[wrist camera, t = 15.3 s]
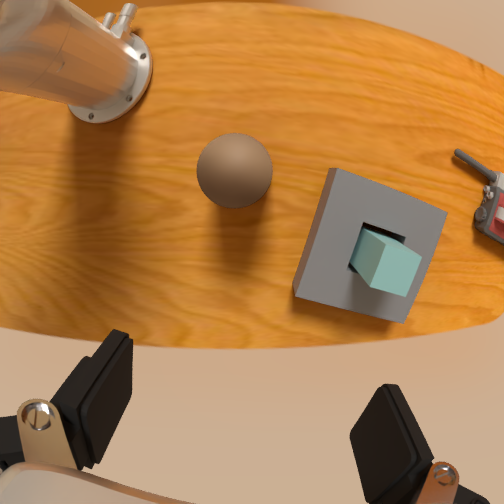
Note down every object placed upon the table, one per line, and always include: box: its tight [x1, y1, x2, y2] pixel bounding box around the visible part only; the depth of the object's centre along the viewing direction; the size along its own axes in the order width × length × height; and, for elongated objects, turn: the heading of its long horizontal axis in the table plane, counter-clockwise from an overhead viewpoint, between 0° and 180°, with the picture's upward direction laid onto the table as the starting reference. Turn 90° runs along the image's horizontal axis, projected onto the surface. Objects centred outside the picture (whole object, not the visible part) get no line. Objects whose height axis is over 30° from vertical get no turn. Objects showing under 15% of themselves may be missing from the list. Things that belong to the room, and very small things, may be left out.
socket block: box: [293, 168, 447, 324], centre depth 33 cm, size 14×14×4 cm
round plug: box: [197, 133, 273, 208], centre depth 28 cm, size 6×6×10 cm
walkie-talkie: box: [454, 149, 504, 245], centre depth 30 cm, size 9×4×20 cm
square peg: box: [349, 226, 422, 297], centre depth 30 cm, size 4×4×10 cm
